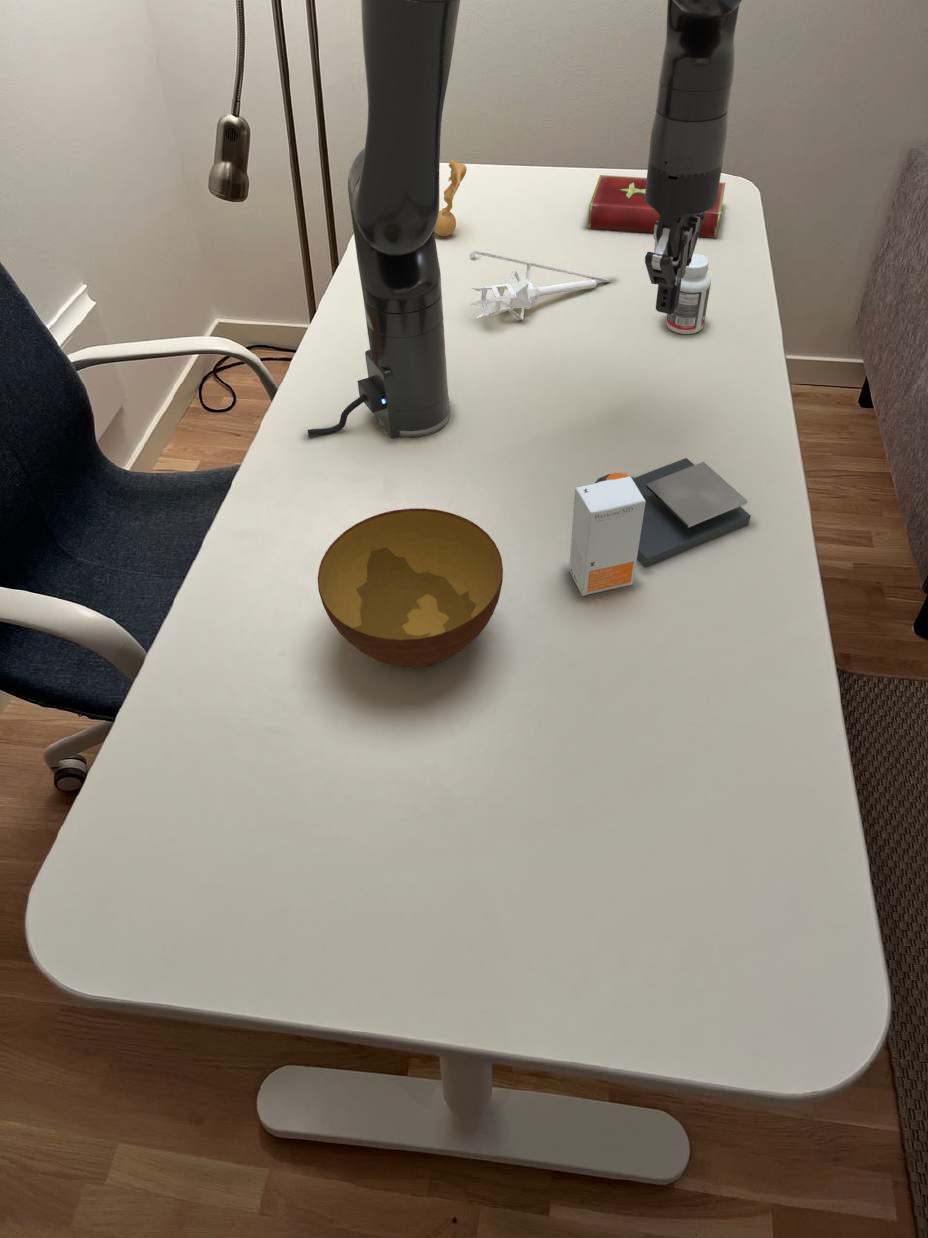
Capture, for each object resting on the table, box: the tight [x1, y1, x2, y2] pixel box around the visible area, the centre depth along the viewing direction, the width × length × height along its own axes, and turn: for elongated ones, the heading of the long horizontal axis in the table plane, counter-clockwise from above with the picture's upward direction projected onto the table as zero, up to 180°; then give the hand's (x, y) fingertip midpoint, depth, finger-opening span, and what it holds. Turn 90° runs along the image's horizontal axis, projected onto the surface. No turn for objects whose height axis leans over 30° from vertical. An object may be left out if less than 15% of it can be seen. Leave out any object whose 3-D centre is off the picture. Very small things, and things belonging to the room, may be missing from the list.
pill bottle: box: [665, 253, 712, 335], centre depth 130 cm, size 5×5×10 cm
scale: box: [593, 457, 752, 568], centre depth 106 cm, size 14×12×3 cm
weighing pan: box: [646, 461, 749, 528], centre depth 104 cm, size 8×8×1 cm
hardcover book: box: [587, 174, 726, 239], centre depth 155 cm, size 12×21×4 cm, turn 76°
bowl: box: [317, 507, 504, 668], centre depth 92 cm, size 18×18×10 cm
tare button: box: [606, 472, 630, 480], centre depth 105 cm, size 3×3×2 cm
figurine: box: [434, 159, 468, 237], centre depth 151 cm, size 8×6×12 cm
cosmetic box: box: [568, 475, 646, 597], centre depth 96 cm, size 6×4×12 cm
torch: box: [468, 249, 612, 321], centre depth 137 cm, size 6×9×25 cm
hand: (666, 309), depth 108 cm, fingers closed
